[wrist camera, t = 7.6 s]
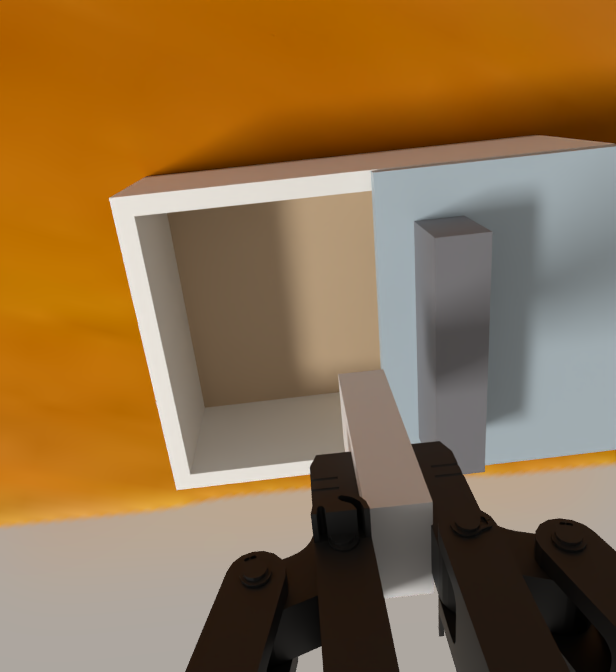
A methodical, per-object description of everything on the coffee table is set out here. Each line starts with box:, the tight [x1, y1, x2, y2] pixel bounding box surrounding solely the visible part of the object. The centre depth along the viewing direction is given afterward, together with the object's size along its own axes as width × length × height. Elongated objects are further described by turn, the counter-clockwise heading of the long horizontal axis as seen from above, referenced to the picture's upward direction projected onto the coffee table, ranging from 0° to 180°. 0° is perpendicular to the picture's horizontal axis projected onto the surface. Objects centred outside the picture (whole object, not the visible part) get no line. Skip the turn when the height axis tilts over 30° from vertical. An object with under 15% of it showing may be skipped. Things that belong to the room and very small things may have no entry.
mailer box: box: [109, 135, 615, 490], centre depth 28 cm, size 20×14×7 cm
